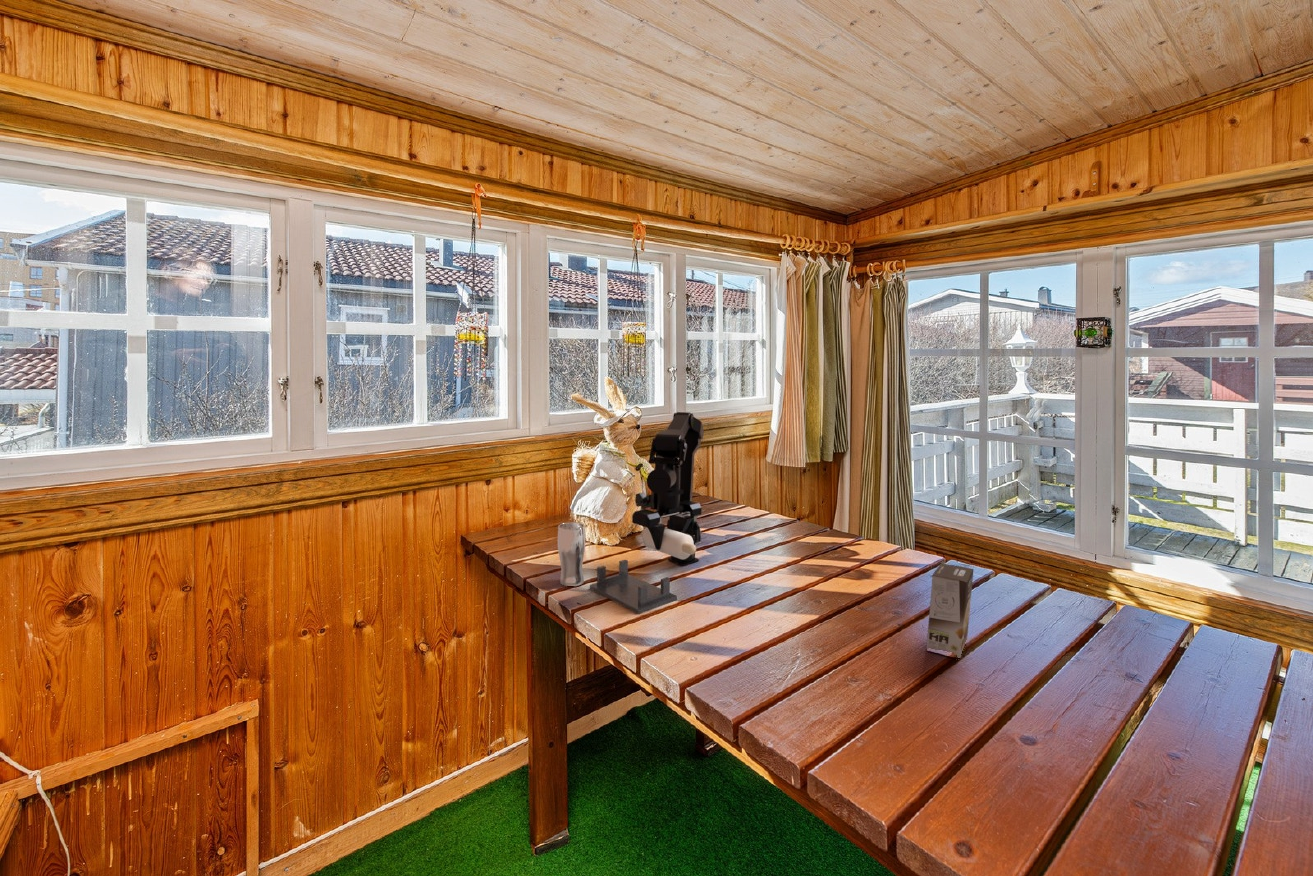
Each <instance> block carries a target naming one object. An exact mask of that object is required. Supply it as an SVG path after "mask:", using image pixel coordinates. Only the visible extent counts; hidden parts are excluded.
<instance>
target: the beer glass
mask: <svg viewBox="0 0 1313 876" xmlns="http://www.w3.org/2000/svg"><path fill="white" fill-rule="evenodd" d="M557 527H558V528H557V551H558V557H559V561H560V567H561V571H560V580H559V584H560V585H561V584H562V586H563V585H564V587H567V586H574V587H578V586H580V585H582V584H584V583H585V582H584V581H585V580H584V574H583V564H584V563H583V562H584V557H585V551H586V532H585V530H586V529H585V524H584V523H582V522H577V521H576V522H575V521H570V522H563V523H559V524H558V526H557Z"/></svg>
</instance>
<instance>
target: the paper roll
mask: <svg viewBox="0 0 1313 876" xmlns="http://www.w3.org/2000/svg"><path fill="white" fill-rule="evenodd" d="M640 535H641V539H642V543H643V545H644V546H645V547H646V548H649V549H651V550H654V551H657V552H659V553H663V554H665V555H668V556H670V557H671V556H674V557H676V558H679V559H686V558H688V557H689V556H690V555H693V554H694V553H695V554H696V552H697V546H696V544H695V545H694V541H693V538H692V537H691V536H690V535H687V534H684V533H681V532H678V531H674V530H671V529H668V528H667V527H665V529H664V534H663V540H662V545H661V548H660V550H657V549H656V548H655V545H654V542H653V539H652V536H651V534H650V531H649V529H648V528H647V527H645V528H644V529H642V531H641V534H640Z"/></svg>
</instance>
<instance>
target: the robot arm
mask: <svg viewBox="0 0 1313 876" xmlns="http://www.w3.org/2000/svg"><path fill="white" fill-rule="evenodd" d="M704 431H705V430H704V426H703V422H702V421H701V420H700V419H698V418H696V417H695V416H694V413H691V411H690V412H688V411H687V412H686V411H683V412H681V411H676V412H674V413H673V418H672V420H671V421H670V424H669V425H668V427H667V428H666V429H665V430H661V431H659V432H657V433H656V434H655V436H654V437H653V438H652V442H651V447H650V453H649V457H648V464H650V465H651V464H654V469H653V470H652V471H650V472H649V474H648V476H647V477H646V486H647V488H648V489H649V490H650V491H651V494H646V492H639V493H635V498H634V499H635V500H634V501H635V505H636V507H637V508H638V507H641V509H640V510H636V511H634V512H633V513H632V515H631V517H632V518H631V523H633V524H636V525H638V526H642V527H644V528H648V529H649V531H650V534H651V536H652V539H653V542H654V545H655V548H656V549H657V550H660V548H661V545H662V540H663V534H664V529H665V528H668V529H671V530H674V531H678V532H681V533H684V534H687V535H690V536H691V537H692V538H693V541H694V545H695V546H696V544H698V543H699V542H701V541H702V533H701V531H702V530H701V527H700V525H699V521H697V519H698V516H701V515H702V506H701V504H700V502H696V501H693V486H694V470H695V455H696V453H697V451H698V450H699V449H700V446H701V442H702V440H703V439H704ZM648 508H650V510H649V509H648ZM654 510H655V511H654ZM665 518H669V519H668V520H667V522H666V524H663V523H662V519H665ZM657 550H656V551H657ZM667 561H670V562H672V563H674V564H678V565H681V566H683V567H684V566H687V565H690V564H694V563H697V562H700V559H699V558H697V557H696V552H695V553H694V554H693V555H690V556H689V557H688V558H686V559H679V558H676V557H674V556H671V555H670V557H668V558H667Z"/></svg>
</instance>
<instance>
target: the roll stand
mask: <svg viewBox="0 0 1313 876" xmlns="http://www.w3.org/2000/svg"><path fill="white" fill-rule="evenodd" d="M618 564H619V565H618V573H616V574H613V575H609V576H607V567H606V566H605V565H601V566H597V568H596V582H595V583H592V584H589V590H591V591H592V592H595V593H597V594H599V595H601V596H602V597H605V598H607V599H609V600H611V601H612V602H614V603H616V604H619V605H620V606H623V607H624V608H627V610H630V611H632V612H634V613H636V614H637V615H639V614H642V613H645V612H648V611H651V610H653V609H657V608H659V607H661V606H665V605H666V604H669V603H672V602H675V601H677V600H678V596H677V595H676V594H673V593H671V592H670V588H671V586H670V583H671V580H670V579H671V578H670V577H666V576H665V577H663V578H660V587H658V586H655V585H654V584H651V583H649V582H647V581H645V580H642V579H640V578H638V577H636V576H633V575H632V574H629V573H628V572H629V570H628V569H629V567H628V564H629V563H628V559H622V560H619V561H618Z"/></svg>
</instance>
